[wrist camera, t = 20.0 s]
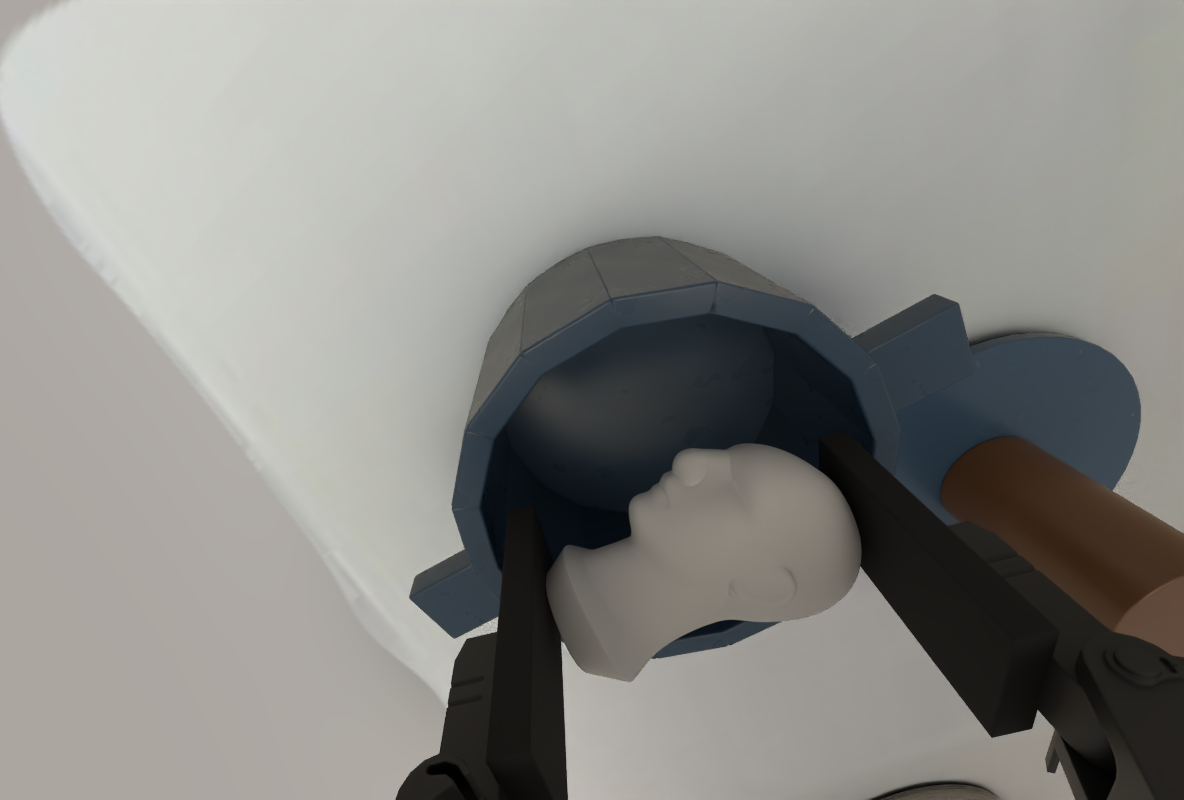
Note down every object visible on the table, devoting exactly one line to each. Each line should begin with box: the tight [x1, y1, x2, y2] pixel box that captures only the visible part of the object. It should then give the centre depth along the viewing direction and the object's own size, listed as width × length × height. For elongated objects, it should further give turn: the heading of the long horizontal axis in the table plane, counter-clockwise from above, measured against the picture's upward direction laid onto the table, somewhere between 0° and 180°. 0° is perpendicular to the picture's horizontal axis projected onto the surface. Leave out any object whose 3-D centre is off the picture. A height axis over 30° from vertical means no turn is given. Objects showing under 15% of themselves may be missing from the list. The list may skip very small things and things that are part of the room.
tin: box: [409, 237, 976, 659], centre depth 18 cm, size 13×18×8 cm
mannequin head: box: [546, 443, 862, 682], centre depth 13 cm, size 4×8×5 cm
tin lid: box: [895, 333, 1184, 657], centre depth 21 cm, size 14×14×9 cm
